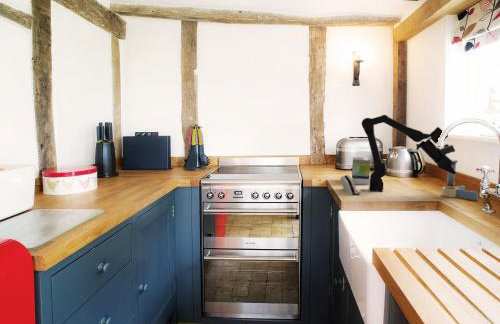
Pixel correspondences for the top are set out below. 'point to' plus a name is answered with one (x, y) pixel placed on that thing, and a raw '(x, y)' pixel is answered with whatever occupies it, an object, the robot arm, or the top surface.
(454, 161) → the pin
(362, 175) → the tea box
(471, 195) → the hinge barrel
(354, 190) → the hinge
